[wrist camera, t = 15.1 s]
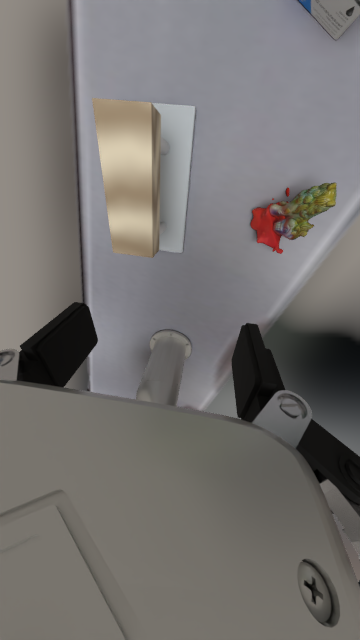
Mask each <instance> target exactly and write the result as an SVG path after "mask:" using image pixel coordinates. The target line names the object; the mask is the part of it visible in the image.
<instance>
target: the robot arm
mask: <svg viewBox="0 0 360 640" xmlns="http://www.w3.org/2000/svg"><path fill="white" fill-rule="evenodd" d="M97 341H98V338H97V335H96V331H95V328H94V324H93V320H92V317H91V313H90V310H89V307H88V306H87V305H86V304H85V303H78V302H74V303H73V304H72V305H70V306H69V307H68V308H67V309H65V310H64V311H63V312H62V313H60V314H59V315H58V316H57V317H55V318H54V319H53V320H52V321H50V322H49V323H48V324H47V325H45V326H44V327H43V328H42V329H40V330H39V331H38V332H37V333H35V334H34V335H33V336H32V337H30V338H29V339H28V340H27V341H25V342H24V343H23V344H22V345H20V347H21V349H22V350H21V351H20V352H18V351H17V350H15V349H6V350H1V351H0V640H360V580H359V582H358V581H357V578H356V576H355V573H354V570H353V567H352V565H351V562H350V559H349V557H348V554H347V551H346V548H345V546H344V543H343V540H342V537H341V535H340V532H339V529H338V527H337V524H336V522H335V519H334V517H333V515H332V513H333V514H335V516H336V517H337V519H338V520H339V521H340V523H341V524H342V526H343V527H344V529H342V530H343V532H344V533H345V535H346V536H347V537H348V539H349V540H350V542H351V543H352V545H353V547H354V549H355V550H356V552H357V554H358V557H359V560H360V457H359V456H358V455H357V454H356V453H354V452H353V451H352V450H350V449H349V448H348V447H347V446H345V445H344V444H343V443H342V442H340V441H339V440H338V439H337V438H335V437H334V436H333V435H331V434H330V433H329V432H328V431H326V430H325V429H324V428H323V427H321V426H320V425H319V424H317V423H316V422H315V421H314V420H312V419H311V417H312V413H311V409H310V407H309V405H308V404H307V403H306V402H305V401H304V399H302V398H301V397H300V396H299V395H297V394H295V393H293V392H290V391H286V390H285V388H284V385H283V382H282V380H281V377H280V374H279V371H278V369H277V366H276V363H275V361H274V358H273V355H272V353H271V350H270V349H266V348H265V346H264V343H263V340H262V337H261V334H260V331H259V328H258V325H257V324H250V323H246V325H242V327H241V331H240V334H239V337H238V340H237V344H236V347H235V350H234V353H233V357H232V371H233V380H234V389H235V398H236V406H237V415H238V417H239V418H241V419H237V418H233V417H229V416H224V415H220V414H214V413H208V412H204V411H199V410H193V409H188V408H182V407H177V401H178V395H179V389H180V384H181V378H182V372H183V366H184V360H186V359H187V358H188V357H189V356H190V354H191V350H192V346H191V343H190V341H189V340H188V338H187V337H186V336H184V335H183V334H181V333H179V332H176V331H172V330H162V331H159V332H157V333H155V334H154V335H153V336H152V338H151V340H150V349H151V351H152V353H151V355H150V358H149V361H148V363H147V366H146V369H145V371H144V374H143V377H142V379H141V382H140V385H139V387H138V390H137V394H136V399H130V398H124V397H118V396H112V395H106V394H100V393H94V392H88V391H82V390H75V389H69V388H63V387H64V386H65V385H66V383H67V382H68V381H69V380H70V378H71V377H72V376H73V374H74V373H75V372H76V370H77V369H78V368H79V367H80V365H81V364H82V363H83V361H84V360H85V359H86V357H87V356H88V355H89V353H90V352H91V351H92V349H93V348H94V347H95V346H96V344H97ZM301 561H303V562H301Z"/></svg>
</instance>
